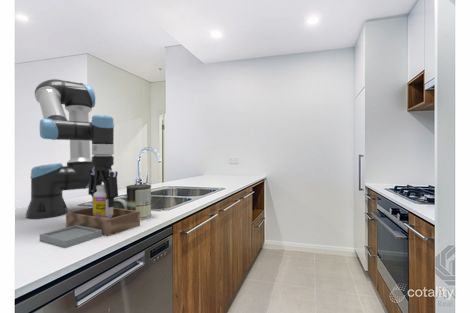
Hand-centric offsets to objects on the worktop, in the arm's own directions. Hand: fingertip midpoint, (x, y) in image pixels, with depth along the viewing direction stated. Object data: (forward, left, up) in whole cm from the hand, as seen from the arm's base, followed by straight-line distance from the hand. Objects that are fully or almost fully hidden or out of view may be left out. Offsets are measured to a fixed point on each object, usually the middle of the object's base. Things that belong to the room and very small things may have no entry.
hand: (102, 214), depth 98 cm
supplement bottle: (0, 0, -2) cm, 2 cm away
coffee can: (+3, +16, -5) cm, 17 cm away
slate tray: (+4, -14, -5) cm, 15 cm away
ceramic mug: (-10, +13, -5) cm, 17 cm away
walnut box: (+1, 0, -5) cm, 5 cm away
